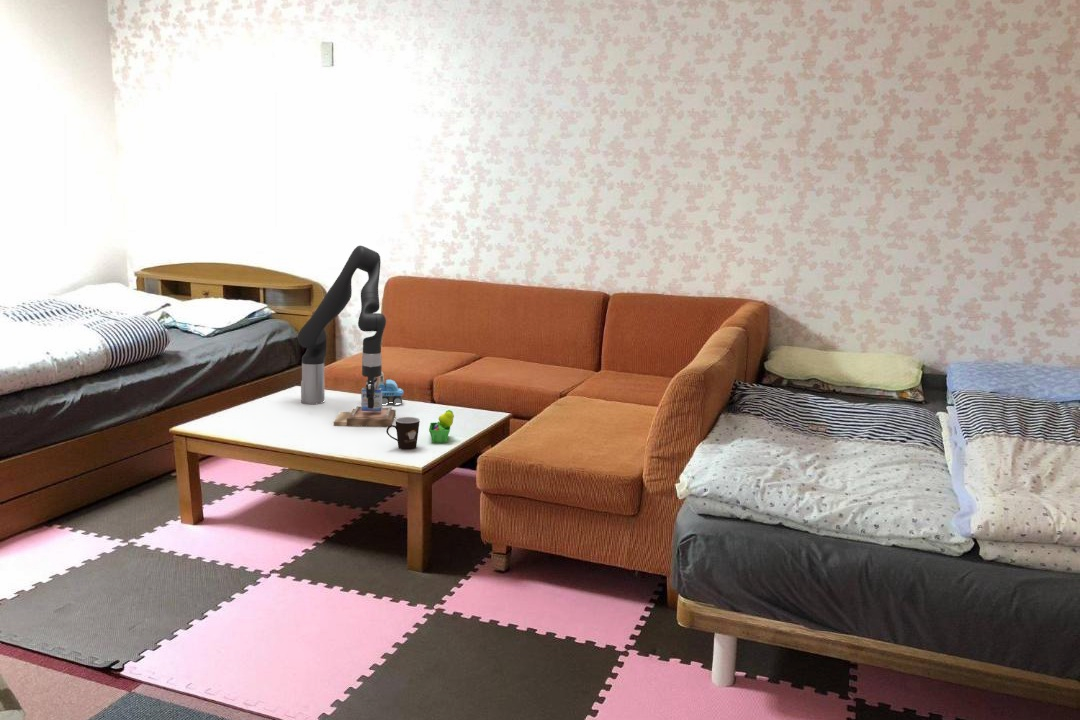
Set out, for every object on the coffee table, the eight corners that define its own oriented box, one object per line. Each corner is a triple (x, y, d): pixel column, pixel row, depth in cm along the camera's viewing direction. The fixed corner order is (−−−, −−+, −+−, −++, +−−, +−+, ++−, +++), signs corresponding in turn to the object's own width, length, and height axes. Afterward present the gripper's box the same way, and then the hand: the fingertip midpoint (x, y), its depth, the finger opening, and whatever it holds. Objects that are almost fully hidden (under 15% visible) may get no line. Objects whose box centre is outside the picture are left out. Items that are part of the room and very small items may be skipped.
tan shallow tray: (333, 425, 326) (333, 415, 326) (340, 415, 342) (340, 405, 341) (390, 427, 328) (391, 416, 327) (395, 416, 343) (395, 406, 343)
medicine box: (361, 411, 332) (361, 389, 330) (362, 408, 336) (362, 387, 335) (381, 411, 333) (381, 389, 331) (382, 408, 337) (382, 387, 335)
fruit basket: (430, 435, 319) (430, 406, 316) (453, 435, 319) (454, 406, 317) (428, 443, 307) (429, 413, 305) (453, 444, 308) (453, 414, 306)
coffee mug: (419, 443, 307) (419, 417, 305) (419, 450, 298) (420, 423, 297) (386, 443, 305) (386, 417, 303) (386, 450, 297) (386, 423, 295)
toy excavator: (364, 401, 367) (364, 363, 364) (403, 401, 370) (403, 363, 367) (363, 406, 359) (364, 366, 356) (403, 406, 362) (404, 367, 359)
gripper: (364, 360, 338) (364, 401, 341) (359, 367, 324) (359, 410, 327) (383, 360, 338) (383, 402, 341) (379, 367, 324) (378, 410, 327)
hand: (371, 406), depth 334 cm, fingers closed on medicine box, 4 cm apart
